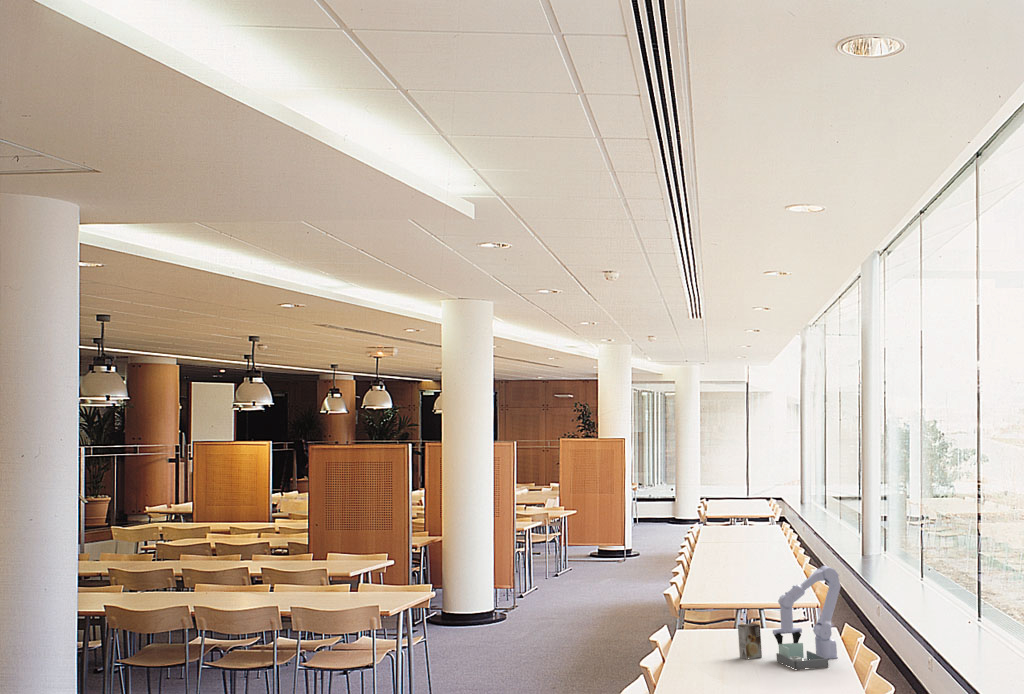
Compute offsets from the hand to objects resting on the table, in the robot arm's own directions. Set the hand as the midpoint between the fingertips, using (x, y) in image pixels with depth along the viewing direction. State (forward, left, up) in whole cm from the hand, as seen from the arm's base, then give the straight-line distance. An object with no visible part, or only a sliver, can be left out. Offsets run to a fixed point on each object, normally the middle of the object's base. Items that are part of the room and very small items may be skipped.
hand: (788, 648), depth 516 cm
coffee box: (+16, -9, -5) cm, 19 cm away
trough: (0, +14, -5) cm, 15 cm away
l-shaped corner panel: (0, +7, -5) cm, 9 cm away
